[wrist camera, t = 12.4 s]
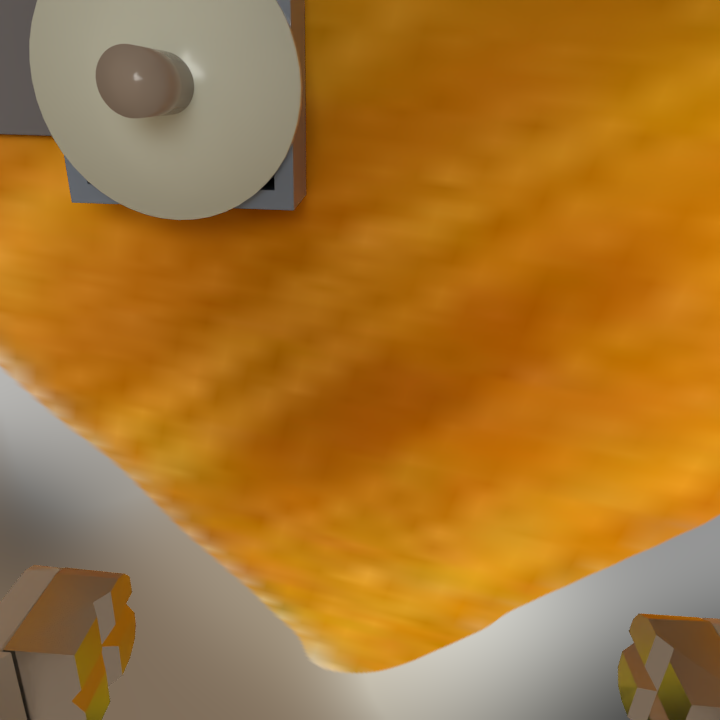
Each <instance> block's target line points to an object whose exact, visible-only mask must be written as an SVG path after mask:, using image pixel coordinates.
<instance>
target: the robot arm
mask: <svg viewBox="0 0 720 720" xmlns="http://www.w3.org/2000/svg"><path fill="white" fill-rule="evenodd" d="M131 593H132V589H131V583H130V577H129V576H128V575H125V574H121V573H111V572H101V571H92V570H82V569H73V568H56V567H48V566H38V565H34V566H32V567H30V568H29V569H27V570H25V571H24V572H23V573H22V575H21V576H20V577H19V579H18V580H17V581H16V583H15V584H14V585H13V586H12V588H11V589H10V590H9V591H8V593H7V594H6V595H5V597H4V598H3V599H2V600H1V602H0V720H102V719H103V716H104V714H105V712H106V710H107V708H108V706H109V704H110V696H109V689H108V686H109V685H110V684H112V683H113V682H114V681H116V680H117V679H118V678H120V677H121V676H122V675H123V673H124V671H125V668H126V666H127V664H128V662H129V659H130V656H131V652H132V648H133V644H134V640H135V629H136V622H135V613H134V612H133V611H132V610H131V609H130V608H129V607H128V606H127V604H126V603H127V601H128V599H129V597H130V595H131ZM629 632H630V635H631V637H632V639H633V641H634V643H633V644H632V645H631V646H629V647H628V648H627V649H625V650H624V651H622V654H621V658H620V661H619V665H618V687H619V691H620V695H621V700H622V703H623V706H624V709H625V711H626V714H627V716H628V717H629V718H630V719H631V720H720V619H713V618H702V619H701V618H697V617H682V616H668V615H653V614H638V615H637V616H636V617H635V618H634V619H633V621H632V624H631V627H630V630H629Z"/></svg>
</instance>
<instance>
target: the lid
mask: <svg viewBox="0 0 720 720" xmlns="http://www.w3.org/2000/svg"><path fill="white" fill-rule="evenodd" d="M29 55H30V69H31V77H32V83H33V87H34V91H35V95H36V99H37V102H38V105H39V108H40V110H41V113H42V116H43V119H44V121H45V123H46V125H47V127H48V129H49V131H50V133H51V135H52V137H53V138H54V140H55V142H56V143H57V145H58V146H59V148H60V150H61V151H62V153H63V154H64V155H65V156H66V158H67V159H68V160H69V161H70V163H71V164H72V165H73V167H74V168H75V169H76V170H77V171H78V172H79V173H80V174H81V175H82V176H83V177H84V178H85V179H86V180H87V181H88V182H90V183H91V184H92V185H93V186H94V187H96V188H97V189H98V190H99V191H100V192H102V193H103V194H105V195H107V196H108V197H110V198H111V199H113V200H114V201H116V202H118V203H120V204H122V205H124V206H126V207H128V208H130V209H132V210H135V211H138V212H140V213H143V214H146V215H150V216H154V217H159V218H163V219H174V220H192V219H200V218H206V217H211V216H214V215H217V214H220V213H223V212H226V211H228V210H230V209H232V208H234V207H236V206H238V205H240V204H241V203H243V202H244V201H246V200H247V199H249V198H250V197H252V196H253V195H254V194H256V193H257V192H258V191H259V190H260V189H261V188H262V187H263V186H265V185H266V184H267V183H268V182H269V181H270V179H271V178H272V177H273V176H274V174H275V173H276V172H277V171H278V169H279V168H280V166H281V165H282V163H283V161H284V160H285V158H286V156H287V154H288V152H289V150H290V148H291V146H292V143H293V141H294V138H295V135H296V131H297V128H298V125H299V119H300V113H301V108H302V90H303V85H302V72H301V64H300V59H299V54H298V49H297V46H296V42H295V39H294V36H293V33H292V30H291V27H290V25H289V23H288V21H287V18H286V16H285V14H284V12H283V10H282V8H281V7H280V5H279V3H278V1H277V0H37V3H36V6H35V10H34V14H33V18H32V23H31V32H30V40H29Z"/></svg>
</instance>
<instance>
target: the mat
mask: <svg viewBox="0 0 720 720" xmlns="http://www.w3.org/2000/svg"><path fill="white" fill-rule="evenodd" d="M36 3H37V0H0V134H18V135H48V136H52V135H51V133H50V131H49V129H48V127H47V125H46V123H45V121H44V119H43V116H42V113H41V110H40V108H39V105H38V102H37V99H36V95H35V91H34V87H33V83H32V77H31V69H30V55H29V40H30V32H31V23H32V18H33V14H34V10H35V6H36Z"/></svg>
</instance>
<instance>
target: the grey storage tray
mask: <svg viewBox="0 0 720 720" xmlns="http://www.w3.org/2000/svg"><path fill="white" fill-rule="evenodd" d="M277 1H278V3H279V5H280V7H281V8H282V10H283V12H284V14H285V16H286V18H287V21H288V23H289V25H290V27H291V30H292V33H293V36H294V39H295V42H296V46H297V49H298V54H299V59H300V64H301V72H302V85H303V90H302V108H301V113H300V119H299V125H298V128H297V131H296V135H295V138H294V141H293V143H292V146H291V148H290V150H289V152H288V154H287V156H286V158H285V160H284V161H283V163H282V165H281V166H280V168H279V169H278V171H277V172H276V173H275V174H274V176H273V177H272V178H271V179H270V181H269V182H268V183H267V184H266V185H265V186H263V187H262V188H261V189H260V190H259V191H258V192H257V193H256V194H254V195H253V196H252V197H250V198H249V199H247V200H246V201H244V202H243V203H241V204H240V205H238V206H236V207H234V208H242V209H270V210H295V208H296V207H297V206H298V204H299V203H300V202H301V201H302V199H303V198H304V197H305V196H306V94H305V0H277ZM64 157H65V163H66V169H67V175H68V181H69V187H70V193H71V199H72V202H75V203H103V204H120V203H118V202H116V201H114V200H113V199H111V198H110V197H108V196H107V195H105V194H103V193H102V192H100V191H99V190H98V189H97V188H96V187H94V186H93V185H92V184H91V183H90V182H88V181H87V180H86V179H85V178H84V177H83V176H82V175H81V174H80V173H79V172H78V171H77V170H76V169H75V168H74V167H73V165H72V164H71V163H70V161H69V160H68V159H67V158H66V156H65V155H64Z"/></svg>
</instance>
